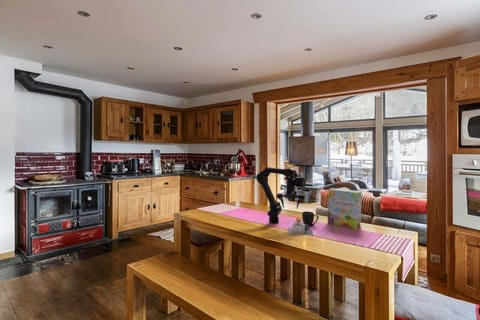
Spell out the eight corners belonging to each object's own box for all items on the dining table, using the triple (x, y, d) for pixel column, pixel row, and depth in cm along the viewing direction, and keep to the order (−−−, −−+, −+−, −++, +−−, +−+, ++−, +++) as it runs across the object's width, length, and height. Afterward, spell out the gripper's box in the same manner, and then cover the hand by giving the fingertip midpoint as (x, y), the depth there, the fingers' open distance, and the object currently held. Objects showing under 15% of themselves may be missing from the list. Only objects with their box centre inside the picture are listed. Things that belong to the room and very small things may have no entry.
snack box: (326, 223, 199) (327, 189, 199) (331, 221, 206) (332, 188, 205) (357, 229, 186) (358, 192, 185) (361, 226, 192) (362, 190, 192)
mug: (314, 229, 184) (314, 215, 184) (299, 225, 193) (299, 212, 193) (320, 227, 190) (321, 213, 190) (305, 223, 199) (306, 210, 198)
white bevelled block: (292, 232, 173) (292, 224, 173) (292, 229, 180) (292, 221, 180) (308, 233, 171) (308, 225, 170) (307, 230, 178) (307, 222, 178)
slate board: (286, 234, 171) (287, 233, 171) (287, 229, 184) (287, 227, 184) (313, 236, 167) (313, 235, 167) (312, 230, 180) (312, 229, 180)
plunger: (294, 231, 174) (294, 218, 173) (294, 229, 179) (294, 216, 178) (302, 231, 173) (302, 219, 172) (302, 229, 178) (302, 217, 177)
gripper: (276, 187, 182) (275, 210, 182) (304, 188, 178) (304, 211, 178) (277, 185, 193) (277, 207, 193) (304, 186, 189) (303, 208, 189)
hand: (290, 208), depth 188 cm, fingers open, 9 cm apart
